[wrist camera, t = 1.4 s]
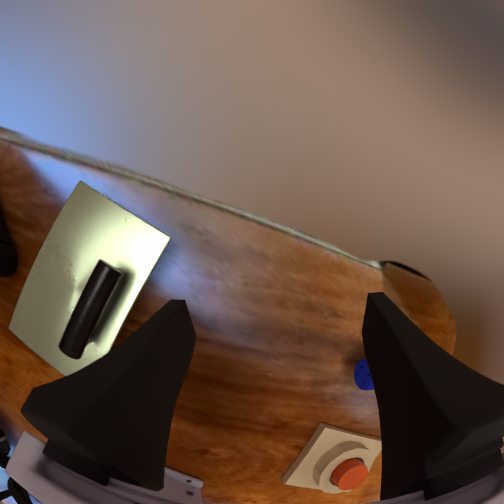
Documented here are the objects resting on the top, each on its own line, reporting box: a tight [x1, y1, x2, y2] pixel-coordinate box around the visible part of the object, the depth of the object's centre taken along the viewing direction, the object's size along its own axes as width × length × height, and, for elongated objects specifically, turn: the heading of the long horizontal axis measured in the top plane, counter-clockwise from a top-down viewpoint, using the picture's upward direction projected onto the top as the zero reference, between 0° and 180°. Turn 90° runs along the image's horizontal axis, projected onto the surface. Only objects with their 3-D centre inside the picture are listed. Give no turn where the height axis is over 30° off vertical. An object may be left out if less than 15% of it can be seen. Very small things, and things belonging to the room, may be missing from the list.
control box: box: [281, 423, 382, 494], centre depth 22 cm, size 10×8×3 cm
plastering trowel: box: [9, 181, 171, 376], centre depth 15 cm, size 8×13×4 cm, turn 151°
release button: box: [331, 458, 368, 491], centre depth 20 cm, size 4×4×2 cm
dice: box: [354, 358, 374, 390], centre depth 23 cm, size 8×3×6 cm, turn 94°
